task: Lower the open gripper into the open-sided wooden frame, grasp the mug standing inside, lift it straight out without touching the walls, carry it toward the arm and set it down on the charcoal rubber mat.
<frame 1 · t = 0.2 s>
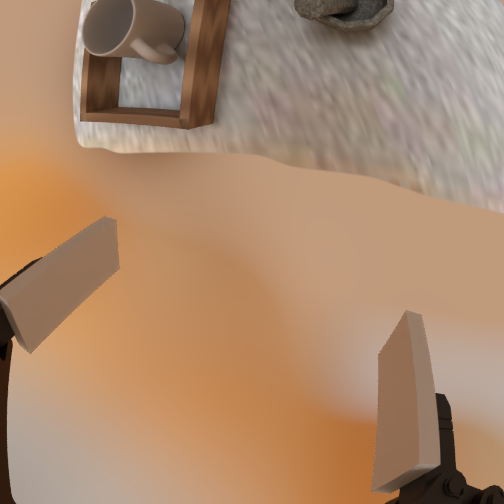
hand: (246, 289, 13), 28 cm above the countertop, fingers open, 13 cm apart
mortar and pestle: (342, 9, 26), on the countertop
mug: (166, 38, 33), on the countertop
open-sided wooden frame: (165, 38, 33), on the countertop
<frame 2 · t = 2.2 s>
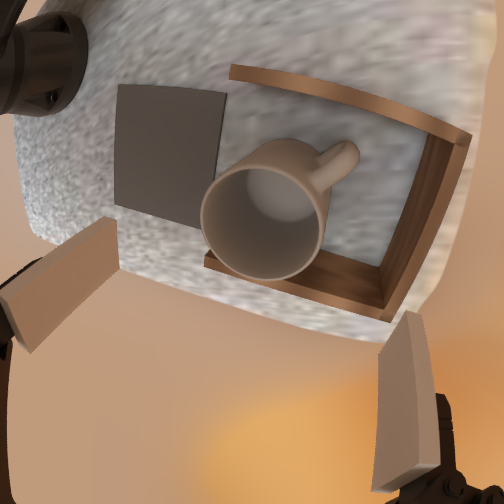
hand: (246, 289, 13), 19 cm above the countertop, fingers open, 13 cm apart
mat: (161, 154, 31), on the countertop
mug: (302, 171, 28), on the countertop
open-sided wooden frame: (302, 171, 28), on the countertop
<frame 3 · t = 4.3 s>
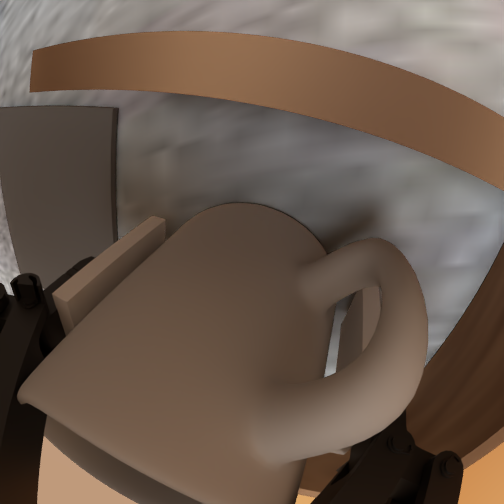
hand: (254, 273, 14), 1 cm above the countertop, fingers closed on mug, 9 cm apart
mat: (49, 214, 18), on the countertop
mug: (278, 265, 14), on the countertop, touching gripper
open-sided wooden frame: (263, 263, 14), on the countertop
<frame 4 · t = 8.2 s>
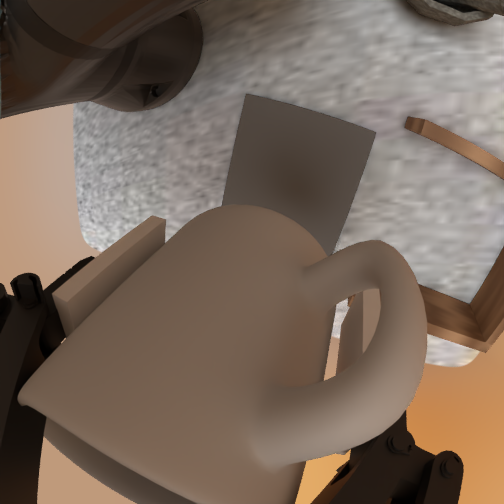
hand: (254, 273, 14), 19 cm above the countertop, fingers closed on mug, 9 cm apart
mortar and pestle: (435, 0, 17), on the countertop
mat: (291, 180, 30), on the countertop
mug: (278, 267, 14), point 18 cm above the countertop, touching gripper
open-sided wooden frame: (430, 218, 28), on the countertop
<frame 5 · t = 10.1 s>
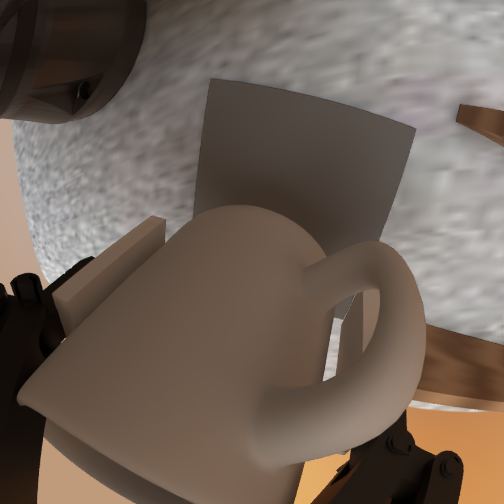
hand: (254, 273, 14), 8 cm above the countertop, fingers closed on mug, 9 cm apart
mat: (287, 206, 20), on the countertop
mug: (277, 267, 14), point 7 cm above the countertop, touching gripper
open-sided wooden frame: (485, 252, 17), on the countertop
when the fingers open (3 cm above the countertop, at t = 11.8 s): mug drops 2 cm, resting on mat.
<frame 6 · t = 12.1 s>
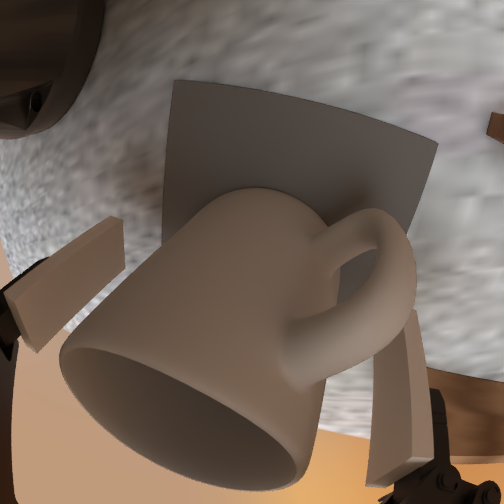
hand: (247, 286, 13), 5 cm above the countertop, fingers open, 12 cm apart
mat: (272, 239, 17), on the countertop
mug: (287, 244, 16), resting on mat
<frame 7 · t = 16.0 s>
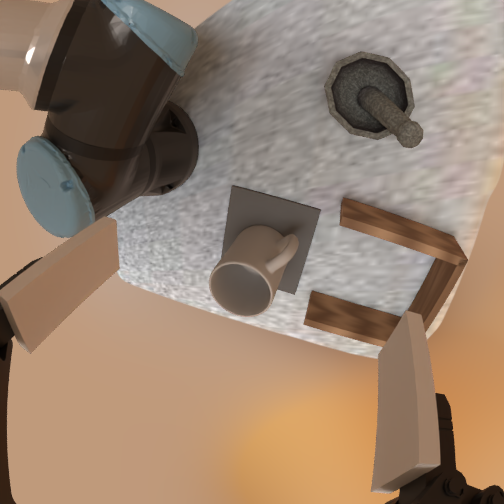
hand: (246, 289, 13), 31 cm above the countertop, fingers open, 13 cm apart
mortar and pestle: (369, 100, 33), on the countertop
mat: (265, 242, 47), on the countertop
mug: (271, 243, 46), resting on mat
open-sided wooden frame: (363, 263, 44), on the countertop
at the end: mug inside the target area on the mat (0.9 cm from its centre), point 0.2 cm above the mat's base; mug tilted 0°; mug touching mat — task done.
